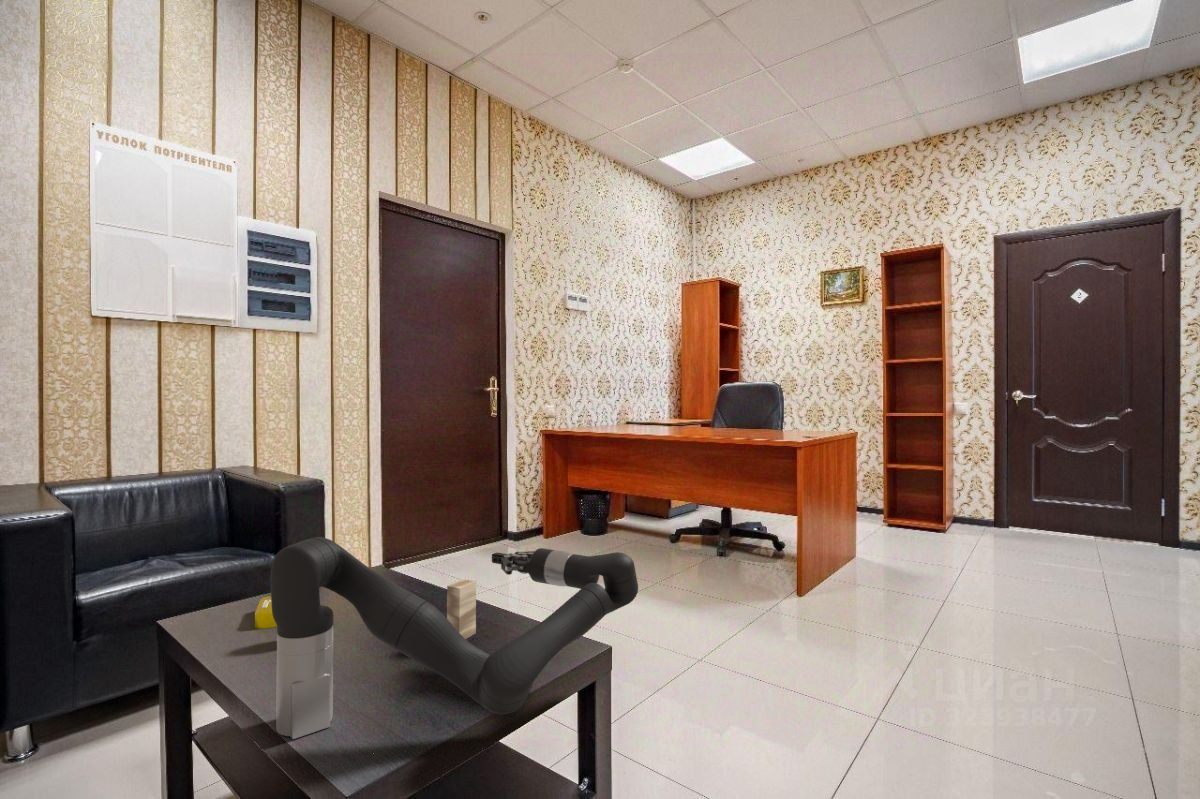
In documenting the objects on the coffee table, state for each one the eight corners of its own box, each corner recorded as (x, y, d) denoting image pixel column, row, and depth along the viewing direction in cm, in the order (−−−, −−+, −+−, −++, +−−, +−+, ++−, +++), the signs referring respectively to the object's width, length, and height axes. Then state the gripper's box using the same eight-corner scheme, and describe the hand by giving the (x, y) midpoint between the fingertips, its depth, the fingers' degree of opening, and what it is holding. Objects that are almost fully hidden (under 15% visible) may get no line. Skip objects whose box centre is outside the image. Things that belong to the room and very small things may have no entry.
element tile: (260, 612, 161) (261, 595, 161) (320, 604, 167) (320, 588, 167) (253, 631, 147) (253, 613, 147) (318, 622, 153) (318, 604, 153)
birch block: (475, 637, 143) (476, 581, 143) (459, 646, 138) (459, 588, 138) (463, 634, 145) (463, 579, 145) (446, 643, 140) (447, 585, 140)
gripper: (537, 592, 123) (475, 580, 131) (569, 576, 134) (510, 566, 143) (537, 557, 123) (475, 547, 131) (569, 544, 134) (510, 536, 143)
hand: (493, 557), depth 137 cm, fingers closed
